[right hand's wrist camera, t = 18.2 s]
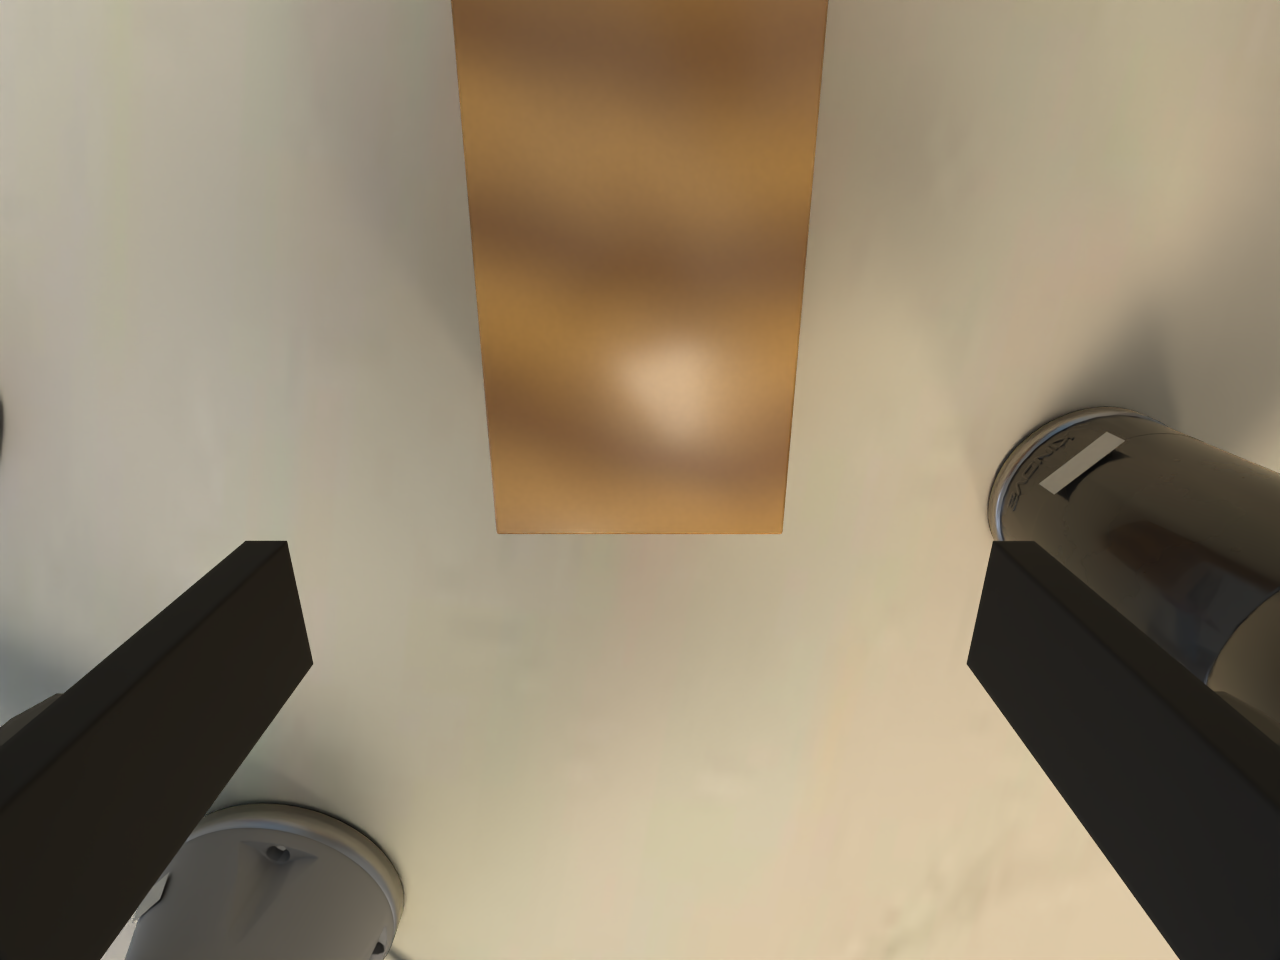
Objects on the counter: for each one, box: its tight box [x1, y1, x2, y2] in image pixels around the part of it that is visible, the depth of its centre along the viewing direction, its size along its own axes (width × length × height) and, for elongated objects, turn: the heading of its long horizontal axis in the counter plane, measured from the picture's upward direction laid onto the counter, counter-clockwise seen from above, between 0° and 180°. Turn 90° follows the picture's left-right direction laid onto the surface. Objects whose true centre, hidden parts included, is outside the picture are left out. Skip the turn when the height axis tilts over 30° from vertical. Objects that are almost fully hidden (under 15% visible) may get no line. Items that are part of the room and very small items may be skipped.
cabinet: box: [451, 0, 828, 534], centre depth 26 cm, size 20×11×9 cm, turn 0°
